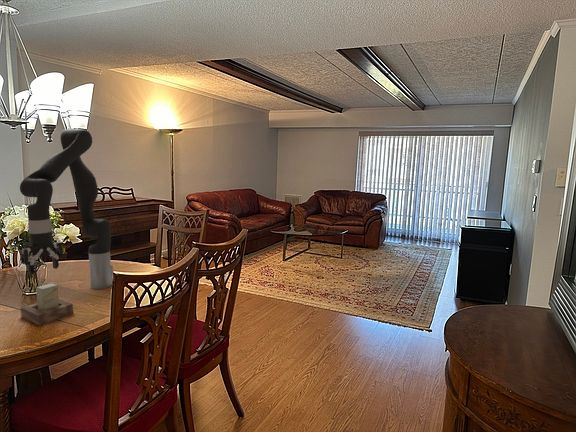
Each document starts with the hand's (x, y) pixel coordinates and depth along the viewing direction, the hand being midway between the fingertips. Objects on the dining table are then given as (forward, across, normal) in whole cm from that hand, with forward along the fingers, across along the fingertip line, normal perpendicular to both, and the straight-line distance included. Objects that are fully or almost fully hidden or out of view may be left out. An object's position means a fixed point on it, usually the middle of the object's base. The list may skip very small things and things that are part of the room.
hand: (44, 271), depth 150 cm
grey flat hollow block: (+18, 0, 0) cm, 18 cm away
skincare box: (+19, 0, 0) cm, 19 cm away
